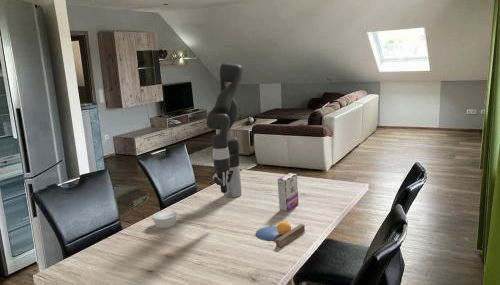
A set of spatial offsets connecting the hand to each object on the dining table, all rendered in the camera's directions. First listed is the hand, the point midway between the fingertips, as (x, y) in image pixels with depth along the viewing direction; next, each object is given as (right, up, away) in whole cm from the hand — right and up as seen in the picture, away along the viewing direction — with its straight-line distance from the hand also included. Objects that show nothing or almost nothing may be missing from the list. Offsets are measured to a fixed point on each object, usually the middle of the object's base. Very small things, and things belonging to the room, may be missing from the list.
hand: (224, 192), depth 184 cm
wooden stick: (+29, -17, -21) cm, 40 cm away
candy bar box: (+32, -9, +14) cm, 36 cm away
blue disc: (+22, -16, -15) cm, 30 cm away
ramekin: (-28, -16, +3) cm, 32 cm away
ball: (+27, -13, -18) cm, 34 cm away
